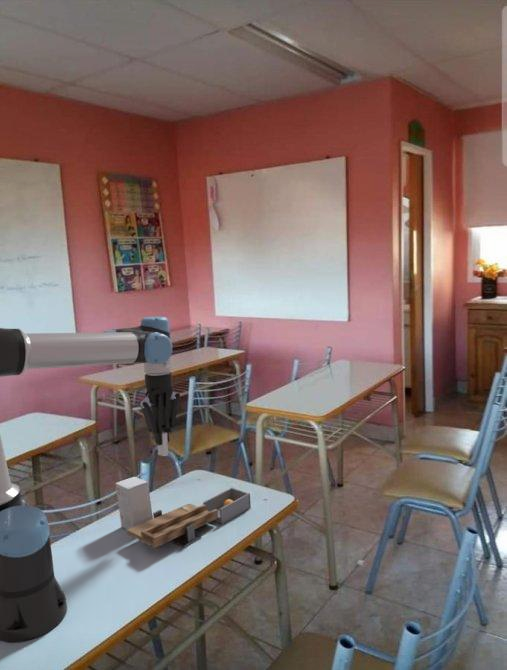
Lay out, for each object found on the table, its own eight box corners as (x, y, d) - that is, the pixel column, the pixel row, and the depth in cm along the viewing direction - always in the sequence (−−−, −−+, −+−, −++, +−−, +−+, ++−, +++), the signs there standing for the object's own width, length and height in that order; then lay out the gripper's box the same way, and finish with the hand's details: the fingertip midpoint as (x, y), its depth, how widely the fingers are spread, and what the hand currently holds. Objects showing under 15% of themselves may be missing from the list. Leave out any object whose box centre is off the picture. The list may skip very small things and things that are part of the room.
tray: (222, 524, 155) (221, 509, 154) (204, 516, 160) (203, 502, 159) (250, 507, 164) (249, 493, 163) (232, 501, 169) (231, 487, 168)
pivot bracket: (184, 547, 144) (183, 531, 143) (148, 530, 154) (147, 515, 153) (201, 537, 148) (200, 522, 148) (165, 521, 158) (164, 507, 158)
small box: (154, 526, 155) (148, 481, 154) (134, 534, 151) (127, 488, 150) (140, 518, 161) (134, 475, 160) (120, 526, 157) (114, 482, 156)
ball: (237, 508, 163) (230, 514, 160) (229, 505, 165) (222, 511, 162) (235, 498, 162) (228, 504, 160) (227, 496, 164) (220, 501, 162)
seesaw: (155, 547, 139) (154, 538, 138) (126, 533, 147) (126, 524, 146) (218, 518, 155) (217, 509, 155) (189, 506, 163) (189, 498, 163)
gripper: (147, 378, 145) (152, 464, 148) (185, 370, 154) (189, 451, 158) (130, 375, 150) (136, 458, 153) (168, 367, 160) (173, 445, 163)
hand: (163, 454), depth 156 cm, fingers closed
